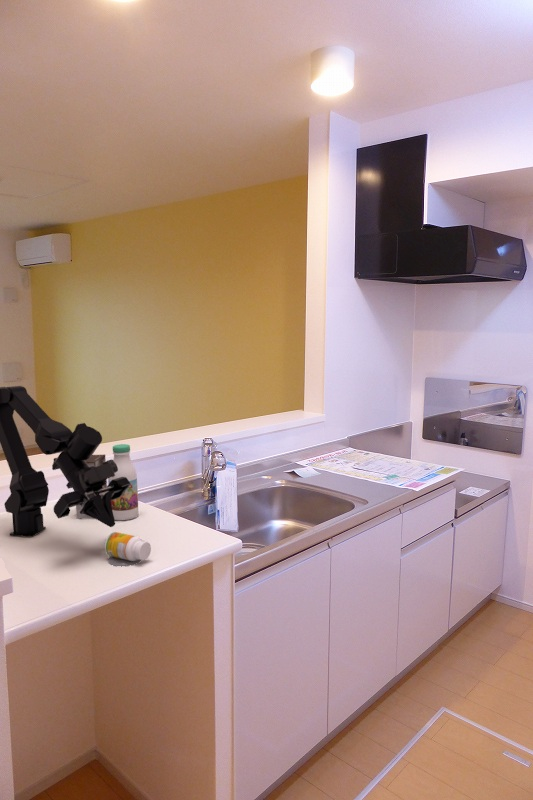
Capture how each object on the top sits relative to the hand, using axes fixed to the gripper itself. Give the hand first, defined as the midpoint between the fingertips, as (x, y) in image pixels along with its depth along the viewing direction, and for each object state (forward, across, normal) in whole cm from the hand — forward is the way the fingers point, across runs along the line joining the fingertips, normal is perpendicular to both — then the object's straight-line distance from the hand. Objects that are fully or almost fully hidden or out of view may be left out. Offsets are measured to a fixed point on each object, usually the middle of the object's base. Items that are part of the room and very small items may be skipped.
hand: (113, 525), depth 133 cm
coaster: (+8, 0, +3) cm, 8 cm away
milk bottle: (-8, +22, +19) cm, 30 cm away
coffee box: (-15, +19, +26) cm, 35 cm away
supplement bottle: (+2, 0, +4) cm, 5 cm away
